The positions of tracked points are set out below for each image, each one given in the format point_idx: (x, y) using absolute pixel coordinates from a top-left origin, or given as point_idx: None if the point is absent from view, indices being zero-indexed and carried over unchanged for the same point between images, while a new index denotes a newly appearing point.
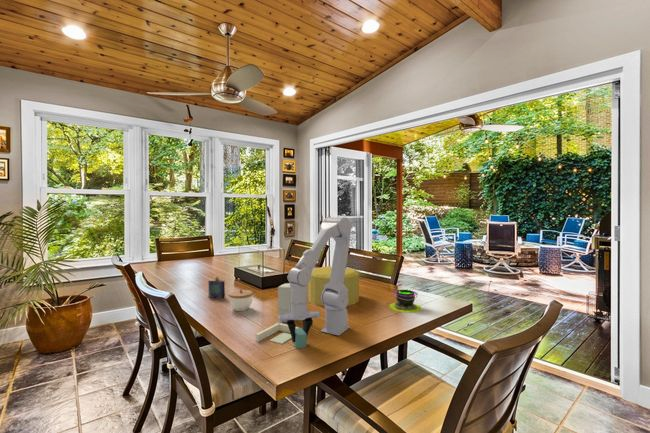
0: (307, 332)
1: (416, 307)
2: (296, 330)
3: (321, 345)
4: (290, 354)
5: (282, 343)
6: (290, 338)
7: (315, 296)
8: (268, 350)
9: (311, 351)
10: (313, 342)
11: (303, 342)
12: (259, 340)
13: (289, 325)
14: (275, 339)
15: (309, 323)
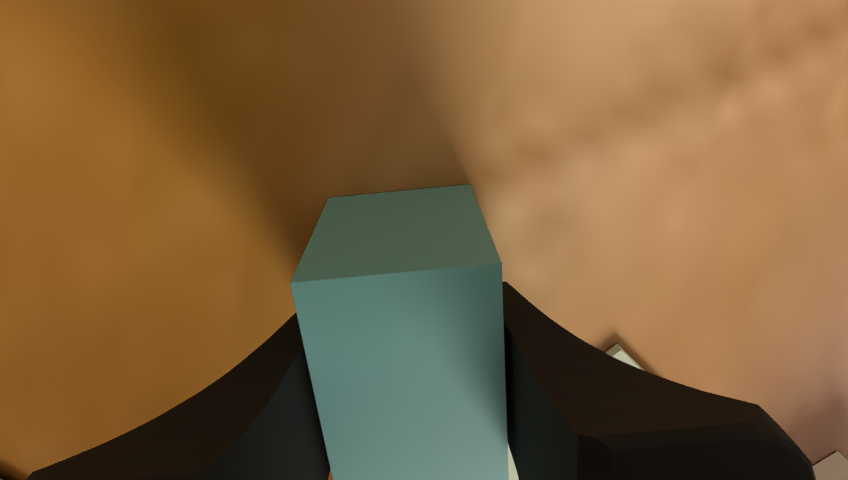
0: (261, 357)
1: None
2: (450, 465)
3: (109, 195)
4: (598, 23)
5: (610, 353)
6: None
7: None
8: (827, 223)
9: (274, 38)
10: (218, 305)
11: (367, 219)
12: (829, 465)
13: (788, 440)
14: None
15: (112, 472)
